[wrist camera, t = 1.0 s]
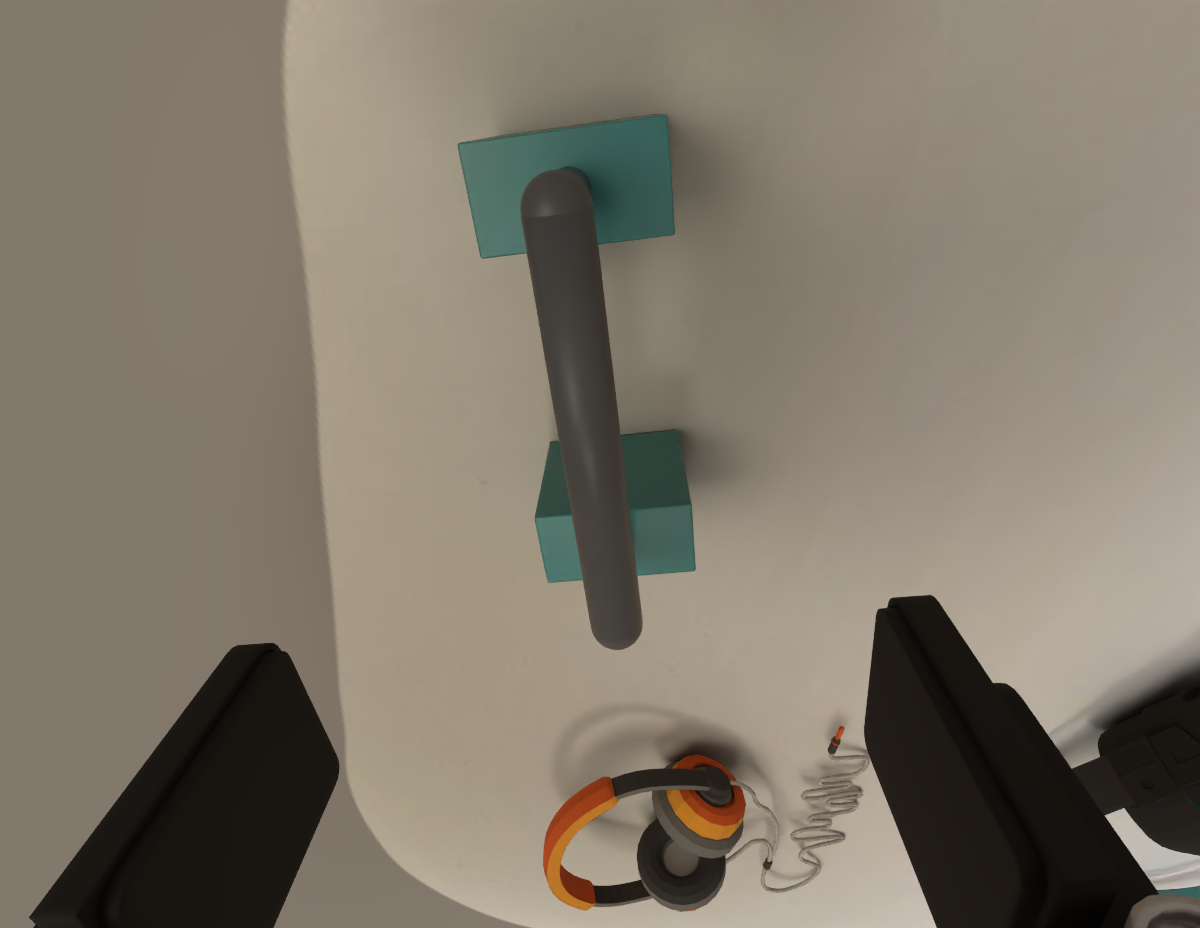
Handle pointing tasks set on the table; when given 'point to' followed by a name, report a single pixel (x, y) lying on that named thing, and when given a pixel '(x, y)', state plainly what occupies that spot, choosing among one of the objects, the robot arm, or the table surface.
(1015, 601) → the table surface
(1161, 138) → the table surface
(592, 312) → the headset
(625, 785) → the headphones
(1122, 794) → the virtual reality headset
